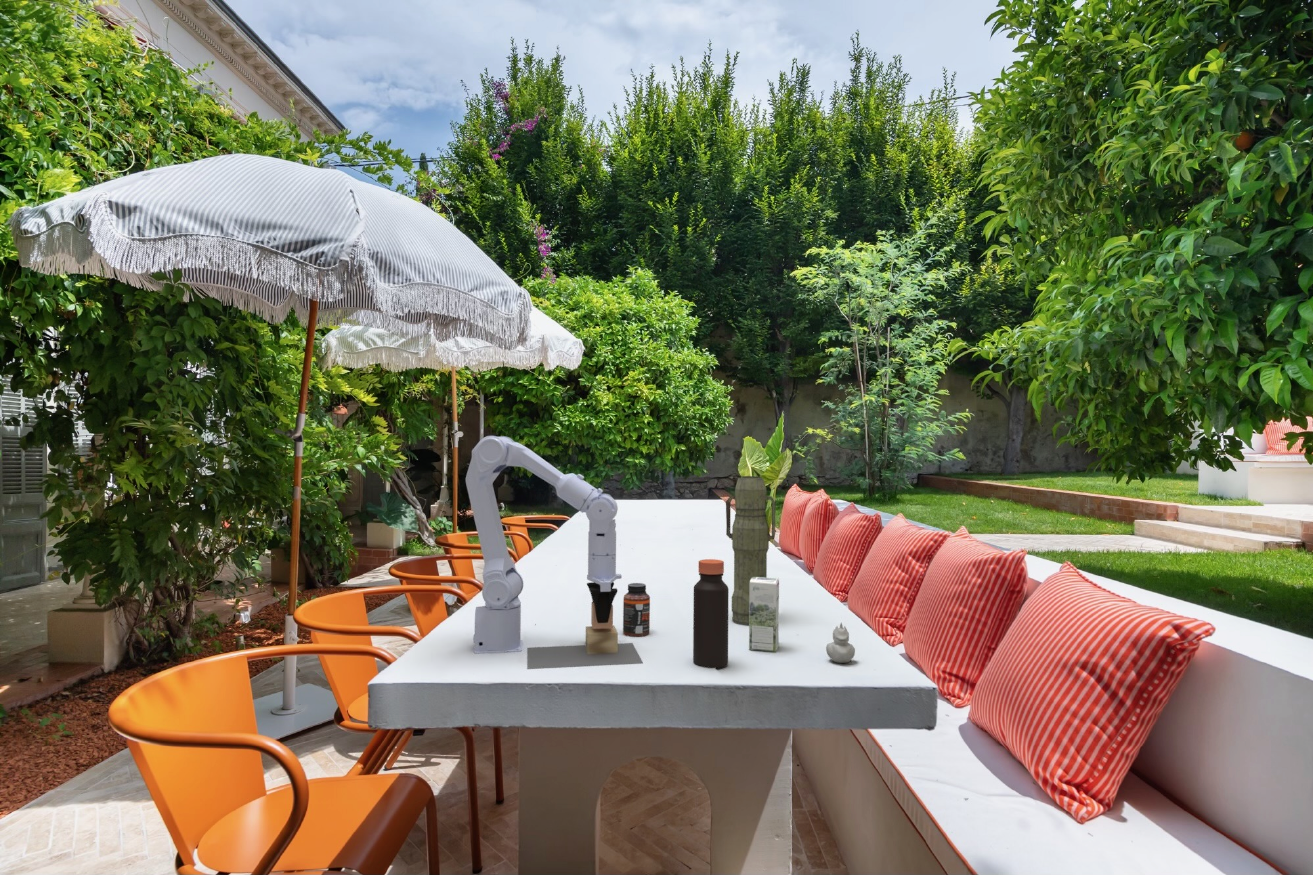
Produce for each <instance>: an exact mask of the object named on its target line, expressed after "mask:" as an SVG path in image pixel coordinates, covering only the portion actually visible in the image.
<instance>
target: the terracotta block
mask: <svg viewBox="0 0 1313 875" xmlns="http://www.w3.org/2000/svg"><path fill="white" fill-rule="evenodd" d="M590 610H591V611H590V612H591V619H590V620H591V621H590V622H591V623H590V624H591V626H592V627H593V629H602V628H613V625H614V623H613V622H614V606H613V604H612V606H611V611H610V616H609V620H608V623H598V622H597V618H596V612H595V605H594V602H593V601H592V602H591V608H590Z"/></svg>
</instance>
